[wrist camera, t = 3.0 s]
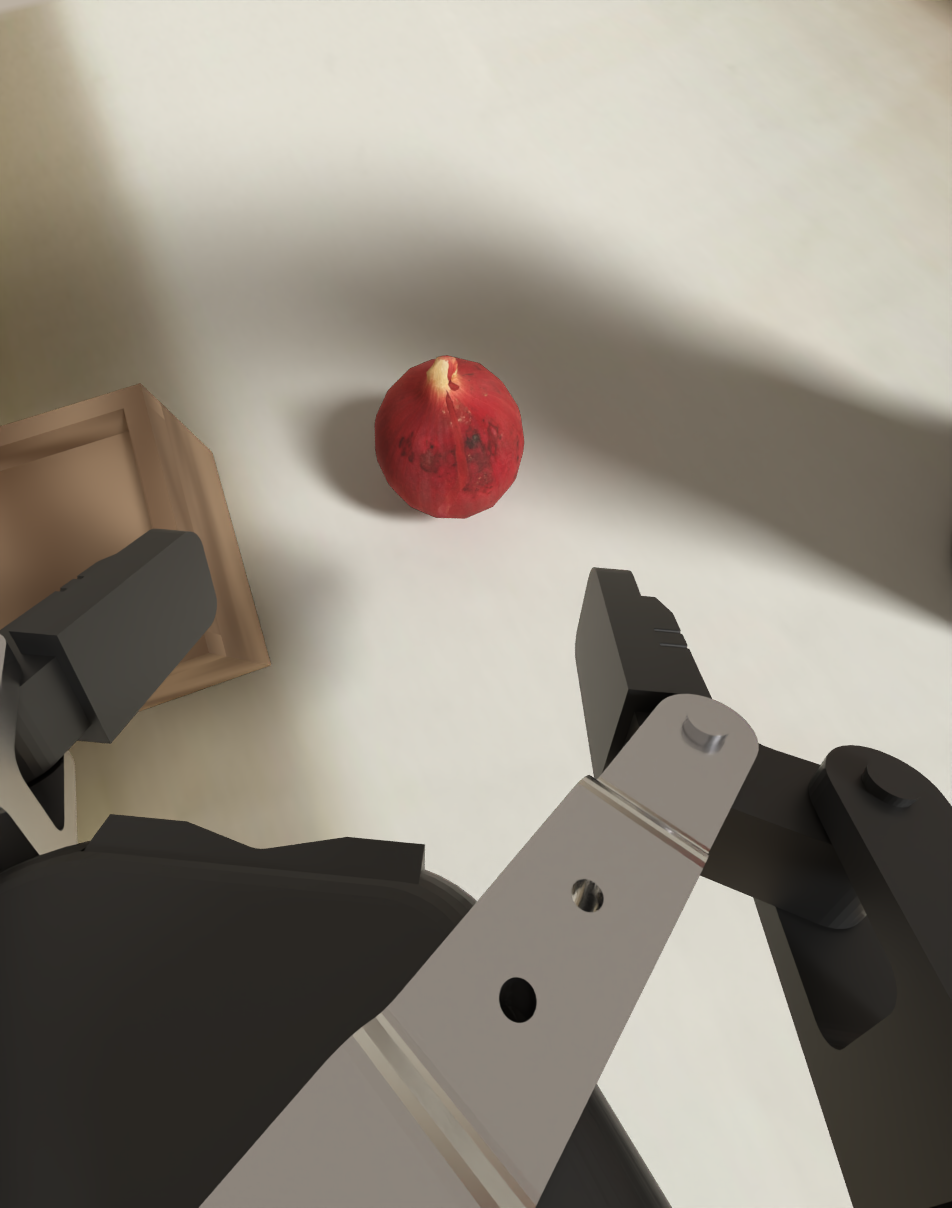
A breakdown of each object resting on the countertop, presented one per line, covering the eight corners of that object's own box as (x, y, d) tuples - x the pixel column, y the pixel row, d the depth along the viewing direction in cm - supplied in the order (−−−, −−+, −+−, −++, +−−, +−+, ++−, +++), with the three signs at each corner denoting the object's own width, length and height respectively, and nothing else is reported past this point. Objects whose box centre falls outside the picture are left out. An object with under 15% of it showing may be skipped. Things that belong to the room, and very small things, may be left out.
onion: (537, 510, 23) (568, 411, 15) (423, 563, 23) (396, 488, 15) (482, 407, 24) (485, 265, 16) (371, 455, 24) (320, 333, 16)
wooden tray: (212, 452, 24) (140, 383, 19) (271, 665, 22) (208, 652, 17) (-14, 524, 23) (-154, 473, 18) (26, 751, 21) (-118, 765, 16)
